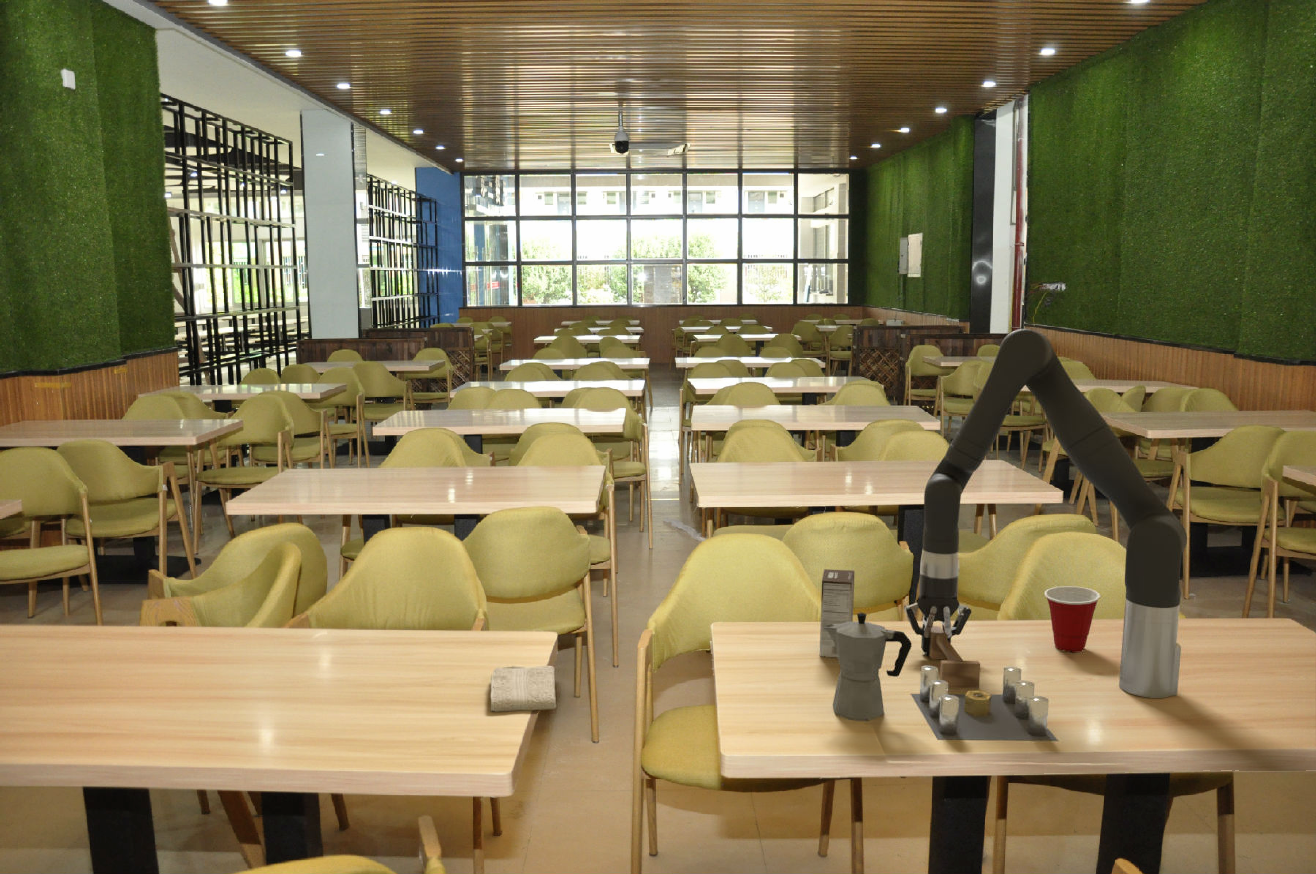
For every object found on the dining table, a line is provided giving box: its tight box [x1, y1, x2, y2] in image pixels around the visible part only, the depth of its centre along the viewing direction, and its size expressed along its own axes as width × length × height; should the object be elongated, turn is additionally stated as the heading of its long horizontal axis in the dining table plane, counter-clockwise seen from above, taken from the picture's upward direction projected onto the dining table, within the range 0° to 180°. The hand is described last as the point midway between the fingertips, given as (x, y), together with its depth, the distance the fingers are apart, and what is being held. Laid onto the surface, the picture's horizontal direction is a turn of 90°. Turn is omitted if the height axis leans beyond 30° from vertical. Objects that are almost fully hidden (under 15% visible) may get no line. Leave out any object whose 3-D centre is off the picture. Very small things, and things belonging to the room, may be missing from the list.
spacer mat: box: [910, 693, 1059, 742], centre depth 190 cm, size 20×20×1 cm
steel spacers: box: [919, 664, 1049, 737], centre depth 190 cm, size 18×17×6 cm
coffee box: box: [819, 568, 856, 658], centre depth 223 cm, size 9×6×16 cm
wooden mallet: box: [928, 625, 981, 689], centre depth 214 cm, size 7×22×5 cm, turn 0°
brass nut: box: [964, 690, 991, 716], centre depth 192 cm, size 5×4×3 cm
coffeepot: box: [824, 612, 912, 722], centre depth 191 cm, size 15×9×18 cm, turn 66°
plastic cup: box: [1044, 585, 1101, 653], centre depth 226 cm, size 11×11×12 cm
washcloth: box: [490, 665, 557, 713], centre depth 200 cm, size 12×18×3 cm, turn 8°
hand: (935, 653), depth 222 cm, fingers closed on wooden mallet, 3 cm apart
